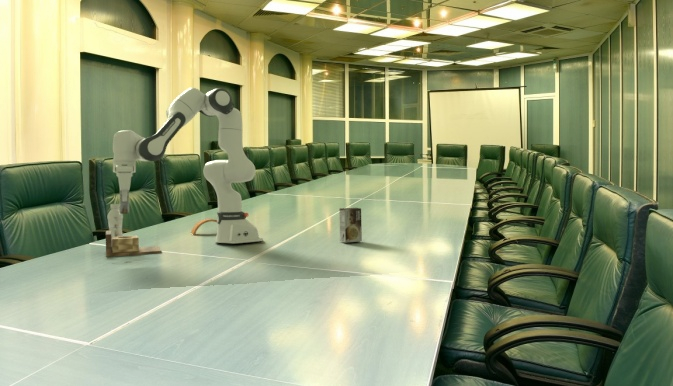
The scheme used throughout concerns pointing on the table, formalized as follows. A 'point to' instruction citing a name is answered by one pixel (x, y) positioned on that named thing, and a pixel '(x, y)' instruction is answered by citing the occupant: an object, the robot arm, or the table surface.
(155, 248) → the jig
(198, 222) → the arch
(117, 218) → the plastic bottle
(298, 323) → the table surface
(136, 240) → the tan square frame
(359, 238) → the coffee box
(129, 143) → the robot arm
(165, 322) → the table surface
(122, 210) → the dowel
